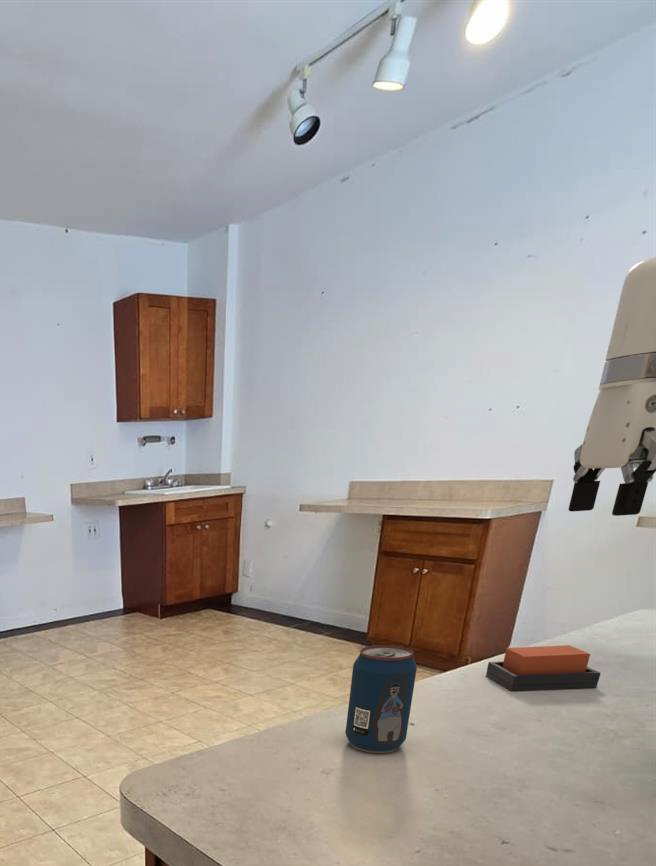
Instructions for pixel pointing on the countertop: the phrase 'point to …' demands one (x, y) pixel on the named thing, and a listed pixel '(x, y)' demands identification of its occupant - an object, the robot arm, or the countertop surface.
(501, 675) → the black rectangular tray
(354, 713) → the soda can
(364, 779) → the countertop surface
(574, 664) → the red brick
